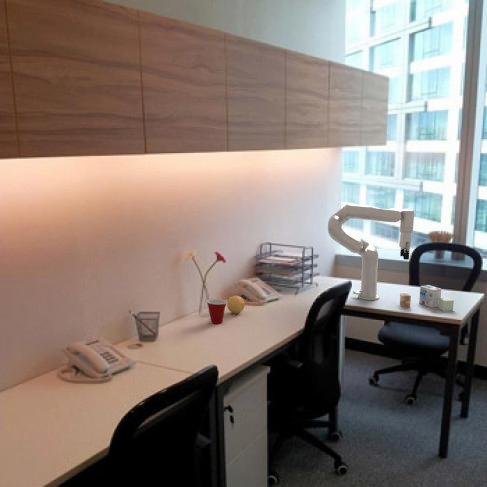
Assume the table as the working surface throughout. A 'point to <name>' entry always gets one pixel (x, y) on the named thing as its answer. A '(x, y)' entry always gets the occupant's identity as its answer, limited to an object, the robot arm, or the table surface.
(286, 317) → the table surface
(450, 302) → the sage cube
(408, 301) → the oak block
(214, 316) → the plastic cup
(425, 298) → the light bulb box
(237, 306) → the stress ball
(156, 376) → the table surface
